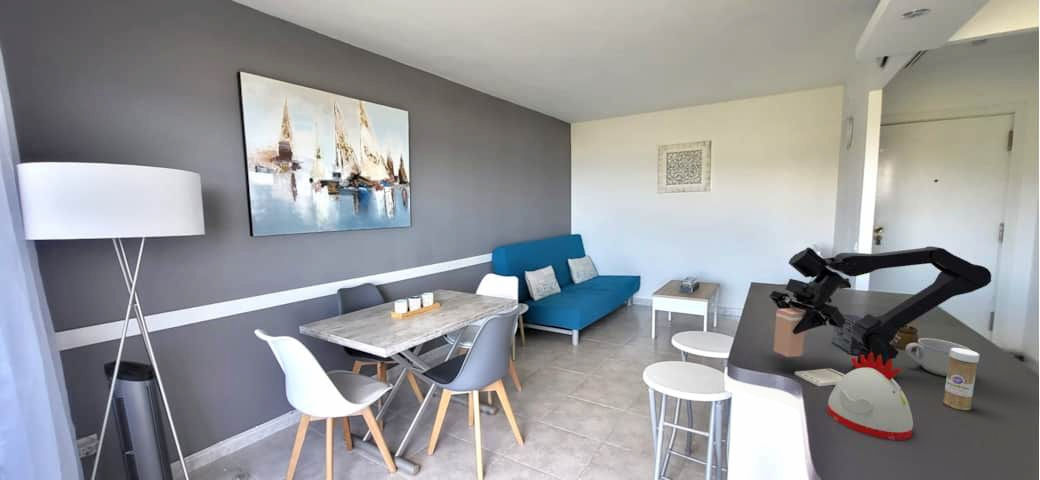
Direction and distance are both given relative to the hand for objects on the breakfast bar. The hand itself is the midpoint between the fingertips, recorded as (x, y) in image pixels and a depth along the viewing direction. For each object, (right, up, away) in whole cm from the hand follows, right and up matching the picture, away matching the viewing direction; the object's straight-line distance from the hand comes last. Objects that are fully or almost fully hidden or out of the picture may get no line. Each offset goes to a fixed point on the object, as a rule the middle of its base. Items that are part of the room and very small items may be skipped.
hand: (785, 330), depth 111 cm
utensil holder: (+52, -11, +21) cm, 57 cm away
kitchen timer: (+2, -15, -23) cm, 28 cm away
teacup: (+44, -12, +3) cm, 45 cm away
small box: (+33, -11, +18) cm, 39 cm away
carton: (+1, -7, +1) cm, 7 cm away
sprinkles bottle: (+29, -14, -16) cm, 36 cm away
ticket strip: (+8, -12, -3) cm, 15 cm away
